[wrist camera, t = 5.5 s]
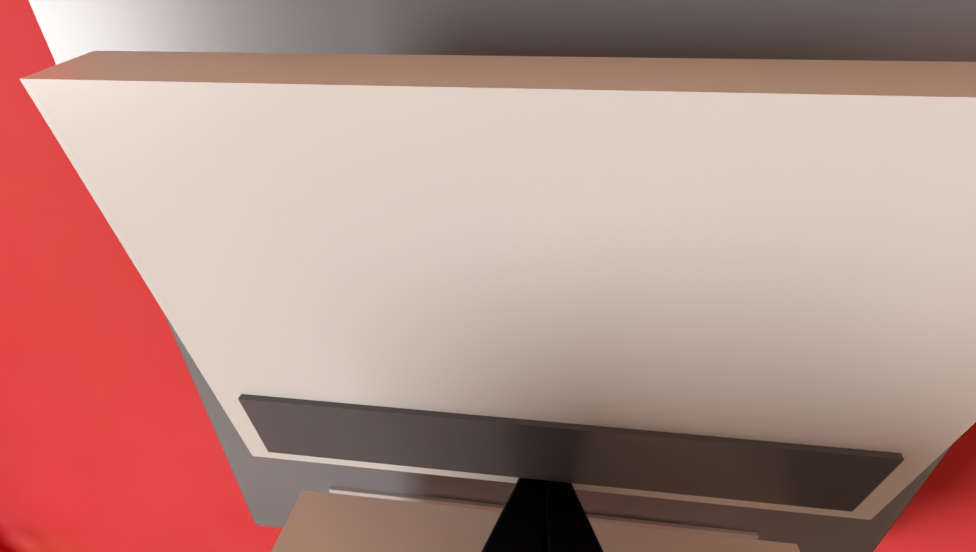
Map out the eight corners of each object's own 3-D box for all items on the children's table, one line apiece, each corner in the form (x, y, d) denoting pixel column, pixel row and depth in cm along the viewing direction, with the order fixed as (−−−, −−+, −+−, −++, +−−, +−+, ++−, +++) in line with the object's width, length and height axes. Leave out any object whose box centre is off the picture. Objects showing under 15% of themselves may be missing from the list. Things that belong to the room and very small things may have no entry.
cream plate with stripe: (1188, 63, 4) (1332, 108, 4) (844, 464, 9) (873, 526, 8) (94, 50, 6) (10, 81, 5) (275, 411, 10) (250, 461, 9)
